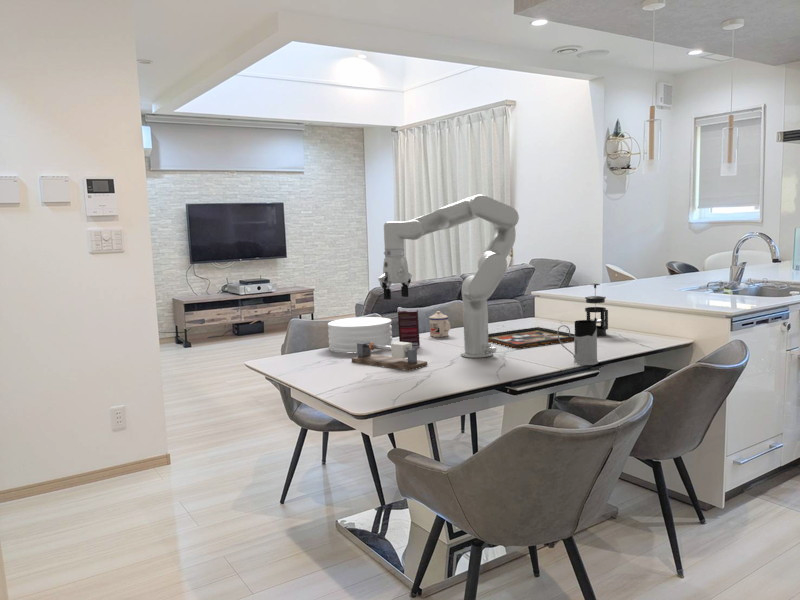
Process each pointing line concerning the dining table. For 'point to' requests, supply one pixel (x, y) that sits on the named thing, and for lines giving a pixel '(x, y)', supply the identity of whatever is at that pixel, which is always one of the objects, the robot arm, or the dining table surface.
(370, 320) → the plate stack
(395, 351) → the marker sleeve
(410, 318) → the supplement box
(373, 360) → the base board
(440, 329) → the teacup with lid
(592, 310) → the french press
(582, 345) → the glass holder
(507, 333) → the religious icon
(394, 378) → the dining table surface
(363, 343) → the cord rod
